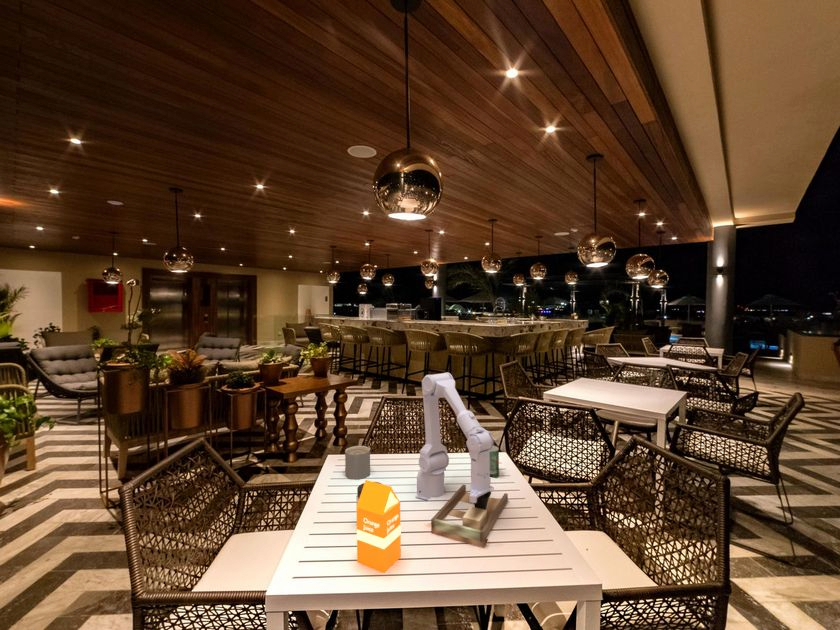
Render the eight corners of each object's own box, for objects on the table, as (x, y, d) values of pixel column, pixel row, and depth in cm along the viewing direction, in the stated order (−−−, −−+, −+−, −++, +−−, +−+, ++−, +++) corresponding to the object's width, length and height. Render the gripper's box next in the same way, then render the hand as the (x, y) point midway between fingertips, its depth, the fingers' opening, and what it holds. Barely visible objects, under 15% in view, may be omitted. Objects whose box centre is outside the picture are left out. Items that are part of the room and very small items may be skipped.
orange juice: (374, 546, 104) (374, 474, 105) (401, 556, 100) (400, 481, 100) (356, 562, 98) (355, 485, 98) (384, 573, 93) (383, 493, 93)
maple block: (462, 530, 109) (462, 517, 109) (471, 519, 115) (470, 506, 115) (479, 535, 107) (479, 521, 107) (486, 523, 113) (486, 509, 113)
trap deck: (431, 533, 111) (431, 519, 111) (463, 495, 134) (463, 484, 134) (483, 547, 103) (483, 533, 103) (507, 505, 126) (507, 493, 126)
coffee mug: (359, 481, 146) (358, 456, 146) (340, 476, 152) (340, 451, 152) (380, 469, 158) (380, 445, 158) (362, 465, 163) (361, 442, 163)
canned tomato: (475, 474, 152) (474, 447, 152) (488, 469, 156) (488, 443, 157) (489, 481, 145) (489, 452, 145) (503, 475, 150) (502, 448, 150)
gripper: (485, 483, 107) (486, 531, 107) (499, 465, 120) (500, 508, 120) (462, 478, 110) (463, 525, 110) (478, 461, 123) (479, 503, 123)
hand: (480, 516), depth 115 cm, fingers closed
